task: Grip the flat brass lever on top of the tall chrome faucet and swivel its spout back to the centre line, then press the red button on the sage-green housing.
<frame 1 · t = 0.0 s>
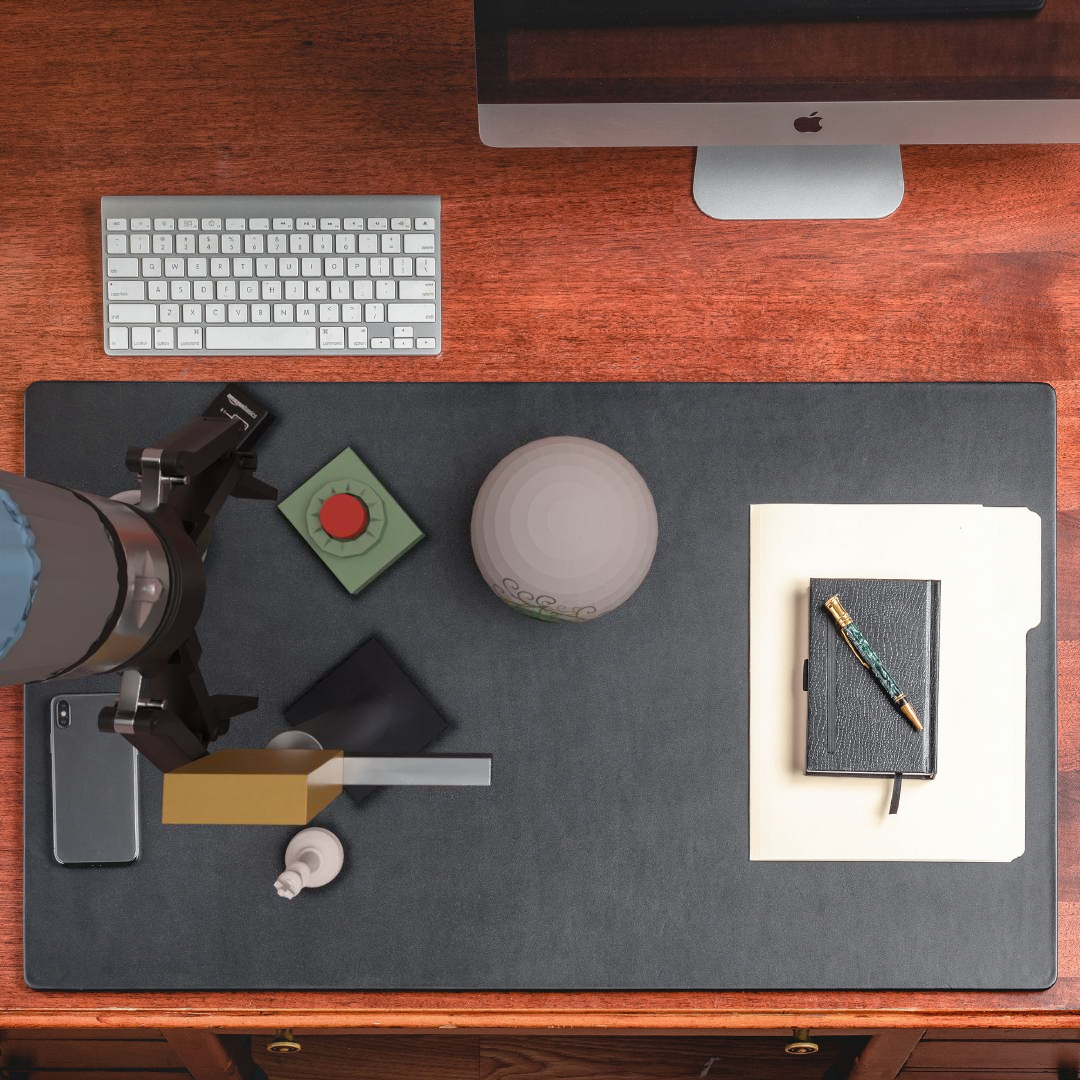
hand: (247, 596, 58), 20 cm above the table, tool pointing down, fingers open, 13 cm apart
cup: (161, 539, 78), on the table
multiport hub: (219, 449, 79), on the table
button: (343, 516, 74), point 4 cm above the table, slide at 0.1 cm
chess piece: (315, 855, 76), on the table
faucet body: (368, 718, 77), on the table
button box: (354, 522, 78), on the table
decorative object: (561, 538, 78), on the table
tap handle: (344, 780, 48), point 29 cm above the table, hinge at 48.9°, touching hand
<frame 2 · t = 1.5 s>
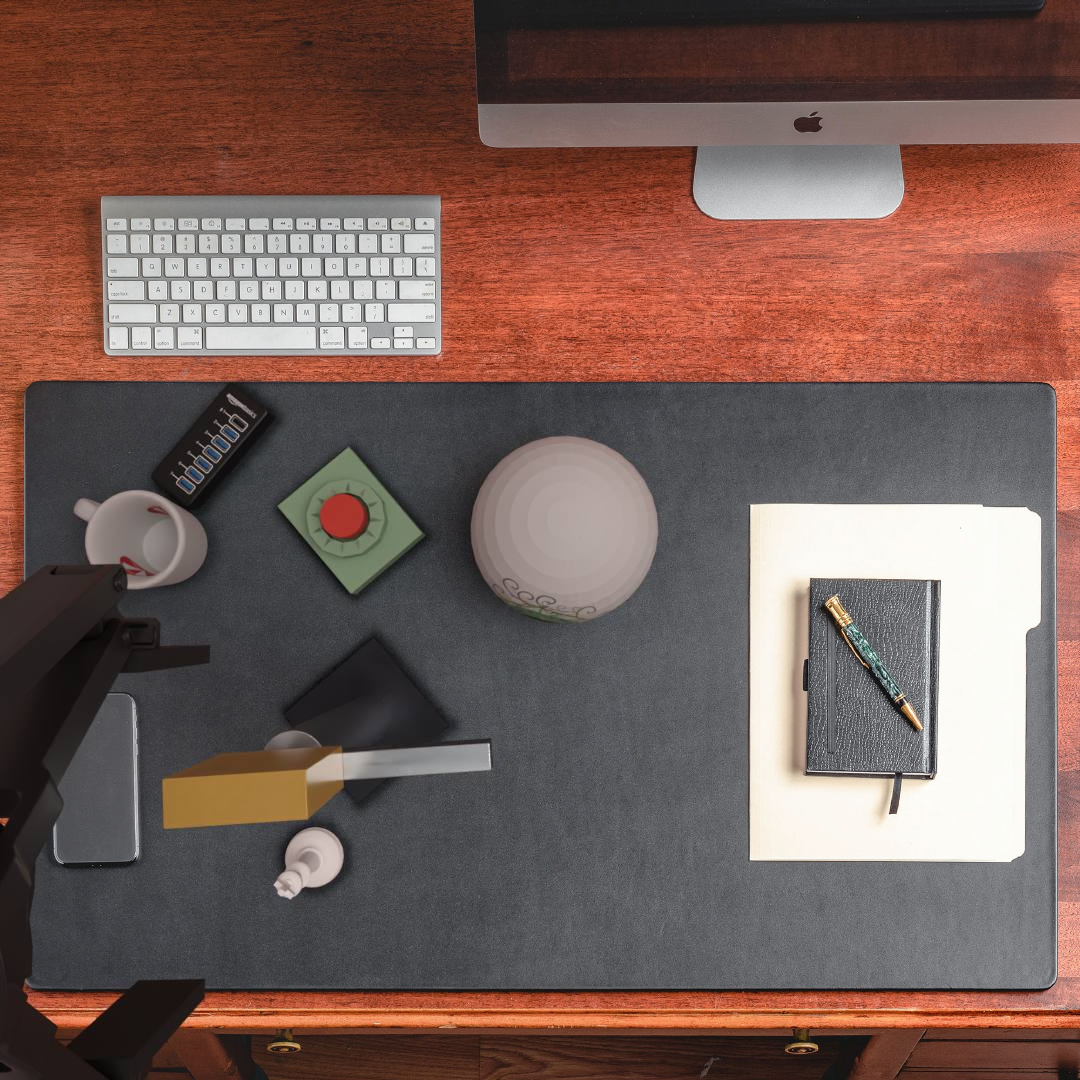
hand: (175, 818, 37), 41 cm above the table, tool pointing down, fingers open, 13 cm apart
tap handle: (344, 775, 48), point 29 cm above the table, hinge at 53.1°
everything else where it was.
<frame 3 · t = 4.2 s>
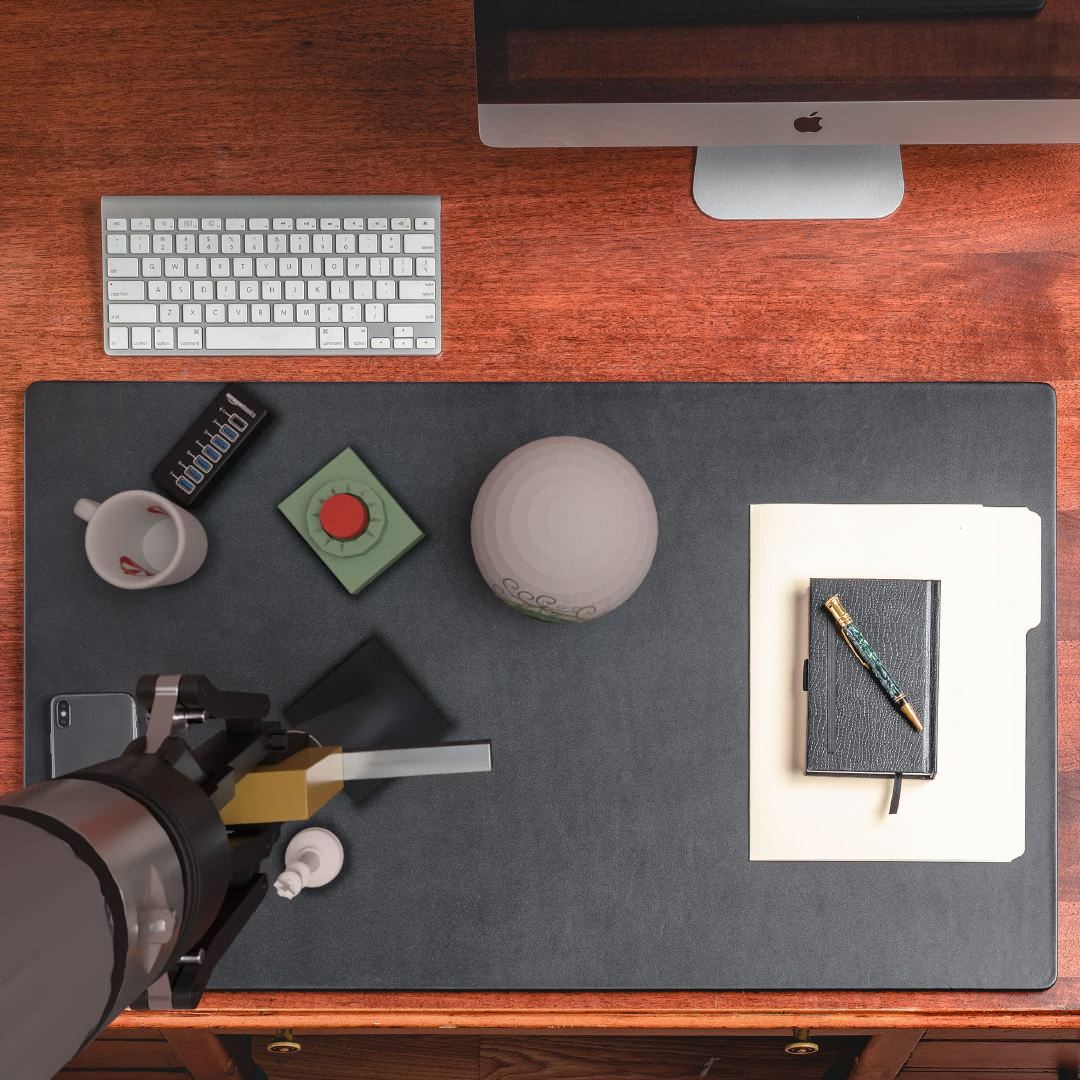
hand: (285, 768, 51), 26 cm above the table, tool pointing down, fingers closed on tap handle, 3 cm apart
tap handle: (344, 775, 48), point 29 cm above the table, hinge at 52.9°, touching gripper
everything else where it was.
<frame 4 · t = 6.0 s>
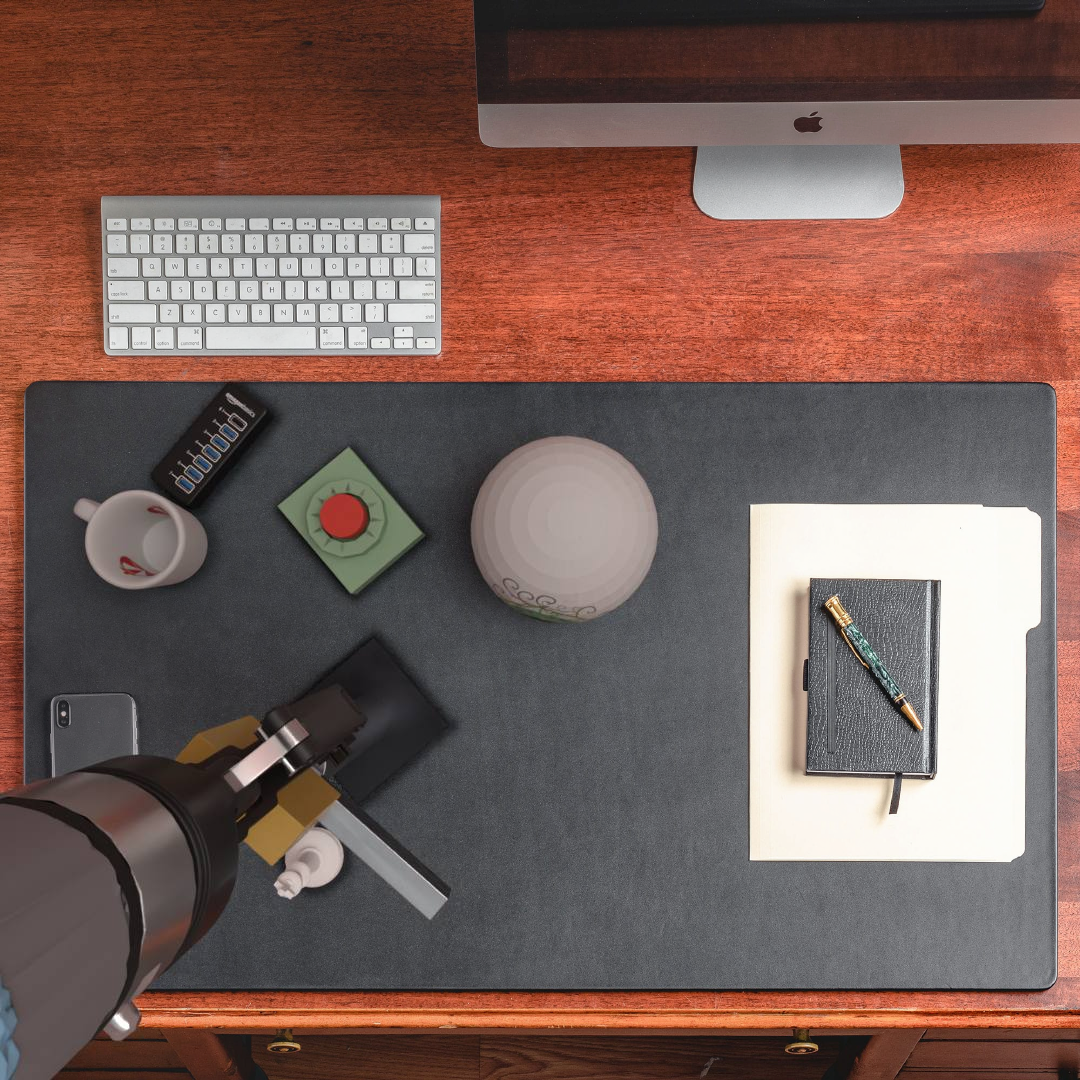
hand: (287, 767, 52), 25 cm above the table, tool pointing down, fingers open, 7 cm apart
tap handle: (324, 832, 48), point 29 cm above the table, hinge at 8.8°
everything else where it was.
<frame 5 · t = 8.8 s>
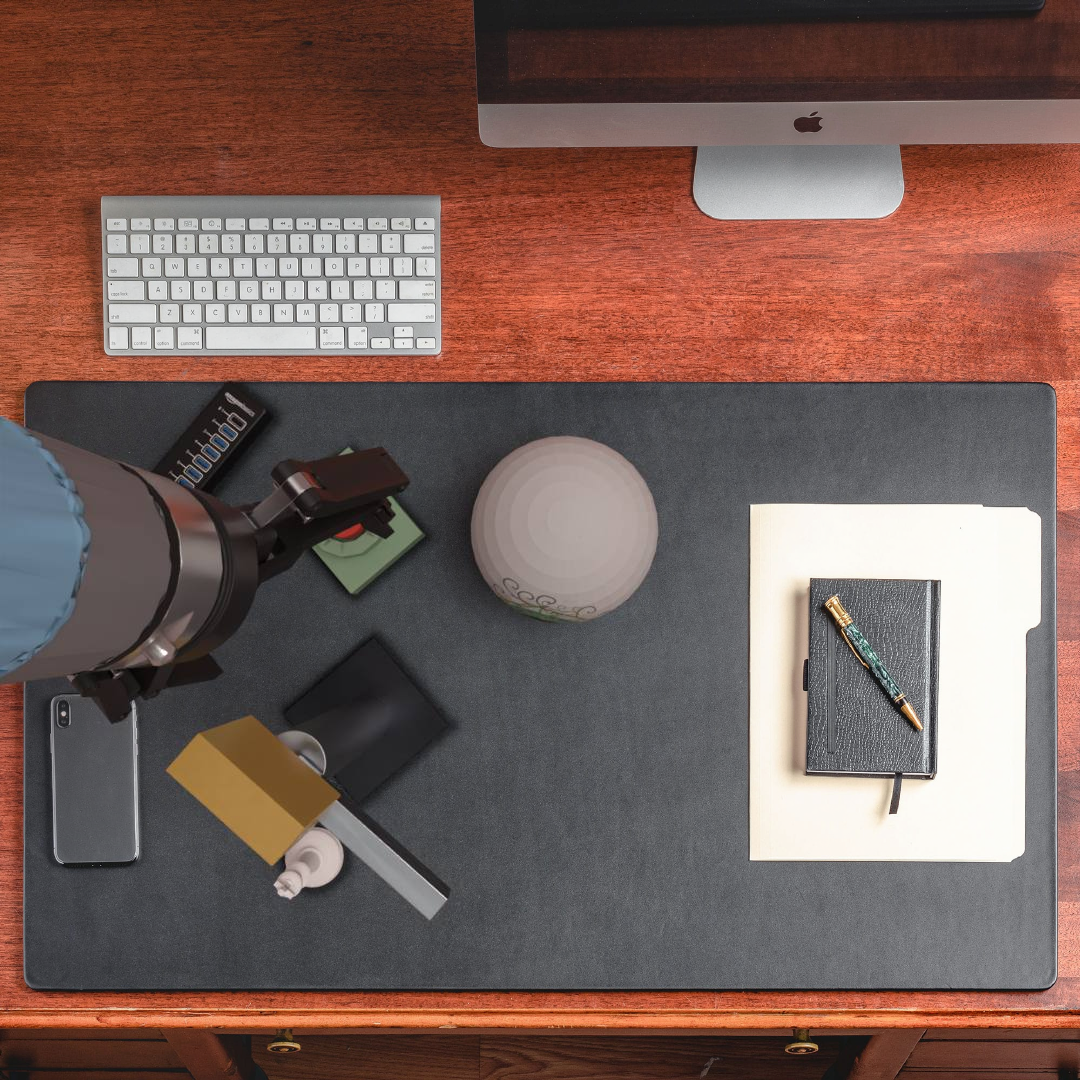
hand: (292, 588, 55), 23 cm above the table, tool pointing down, fingers open, 13 cm apart
nothing on the table moved.
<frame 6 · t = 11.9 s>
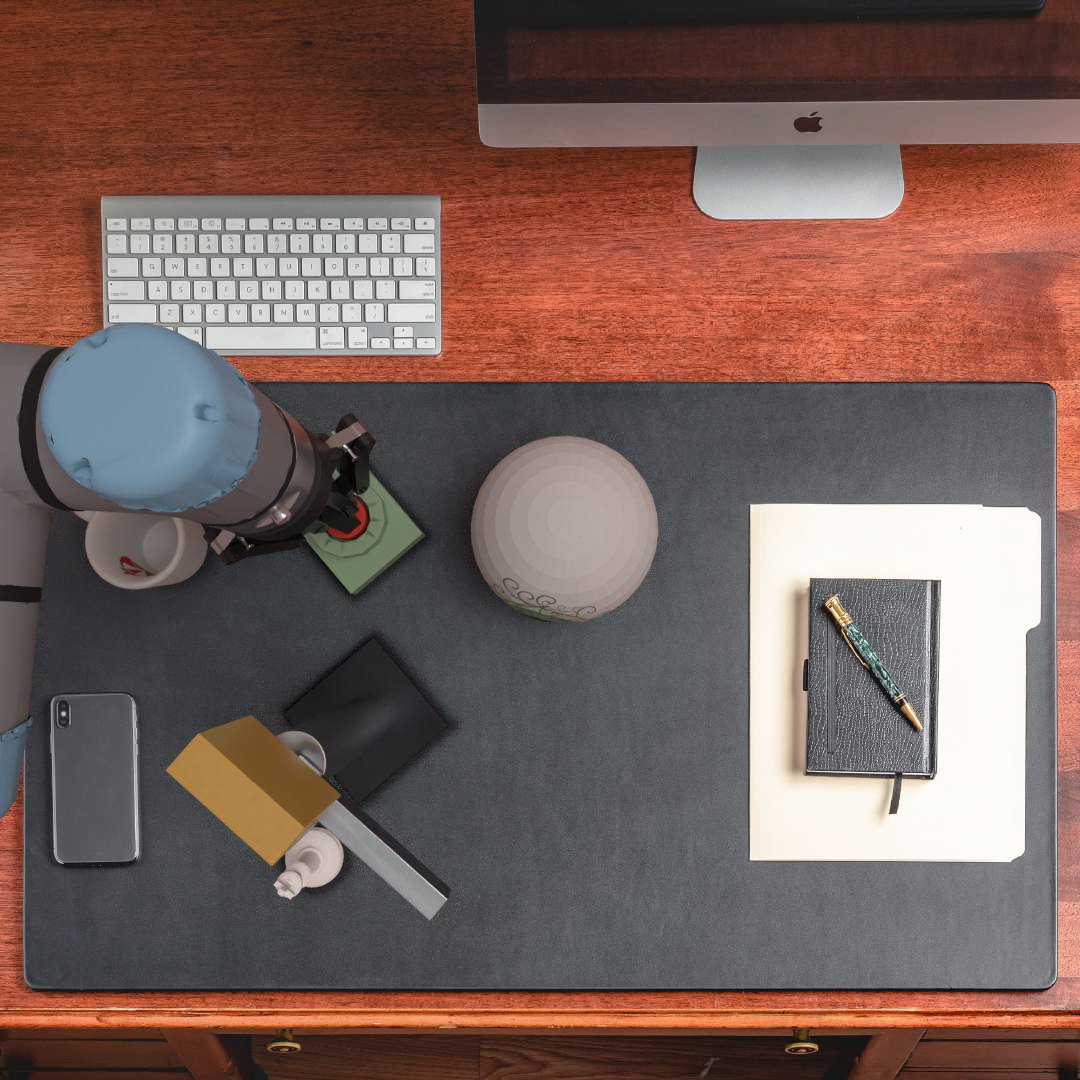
hand: (344, 516, 74), 5 cm above the table, tool pointing down, fingers closed
button: (346, 518, 75), point 4 cm above the table, slide at -0.8 cm, touching gripper
everything else where it was.
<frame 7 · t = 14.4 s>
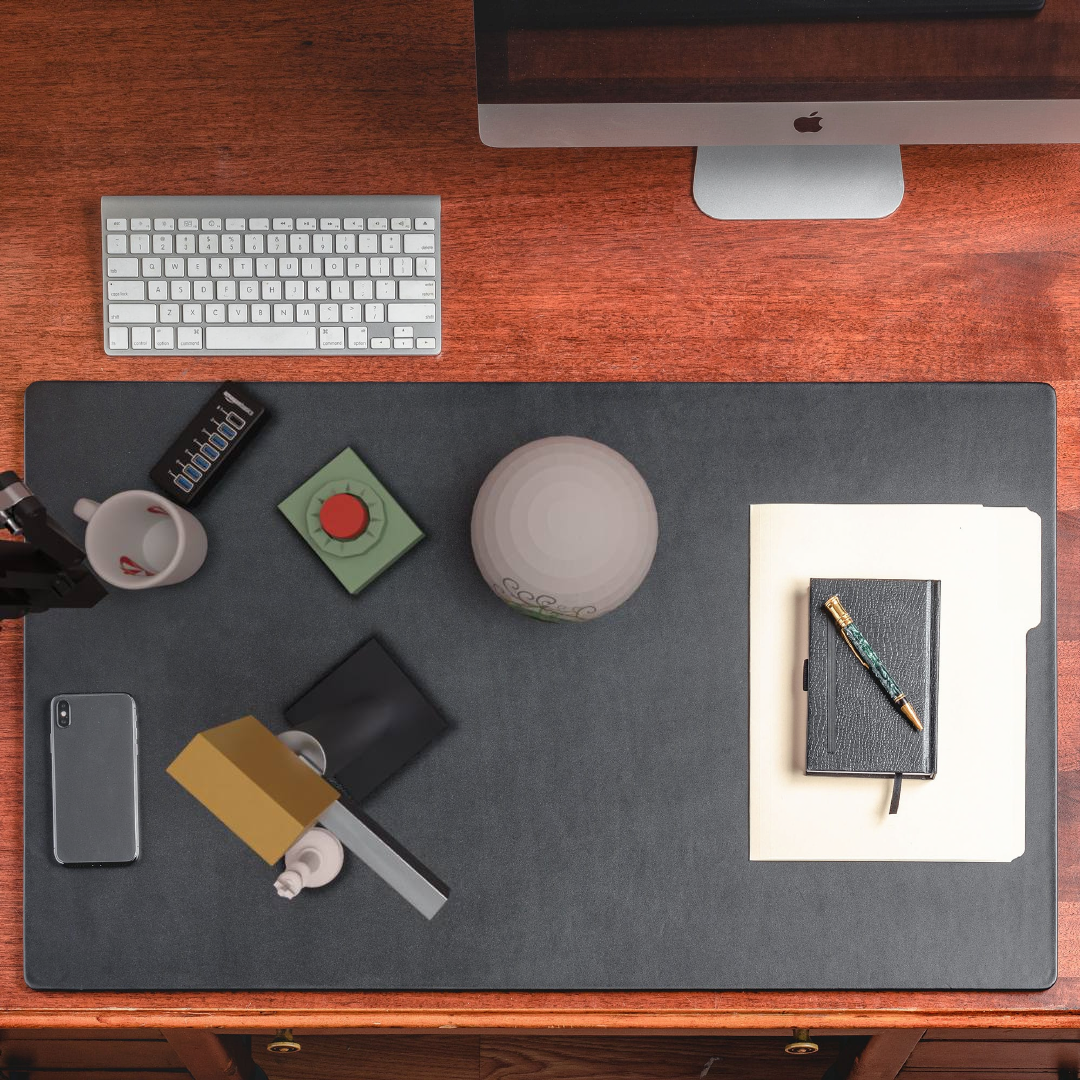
hand: (87, 585, 58), 20 cm above the table, tool pointing down, fingers closed
button: (343, 516, 74), point 4 cm above the table, slide at 0.1 cm
everything else where it was.
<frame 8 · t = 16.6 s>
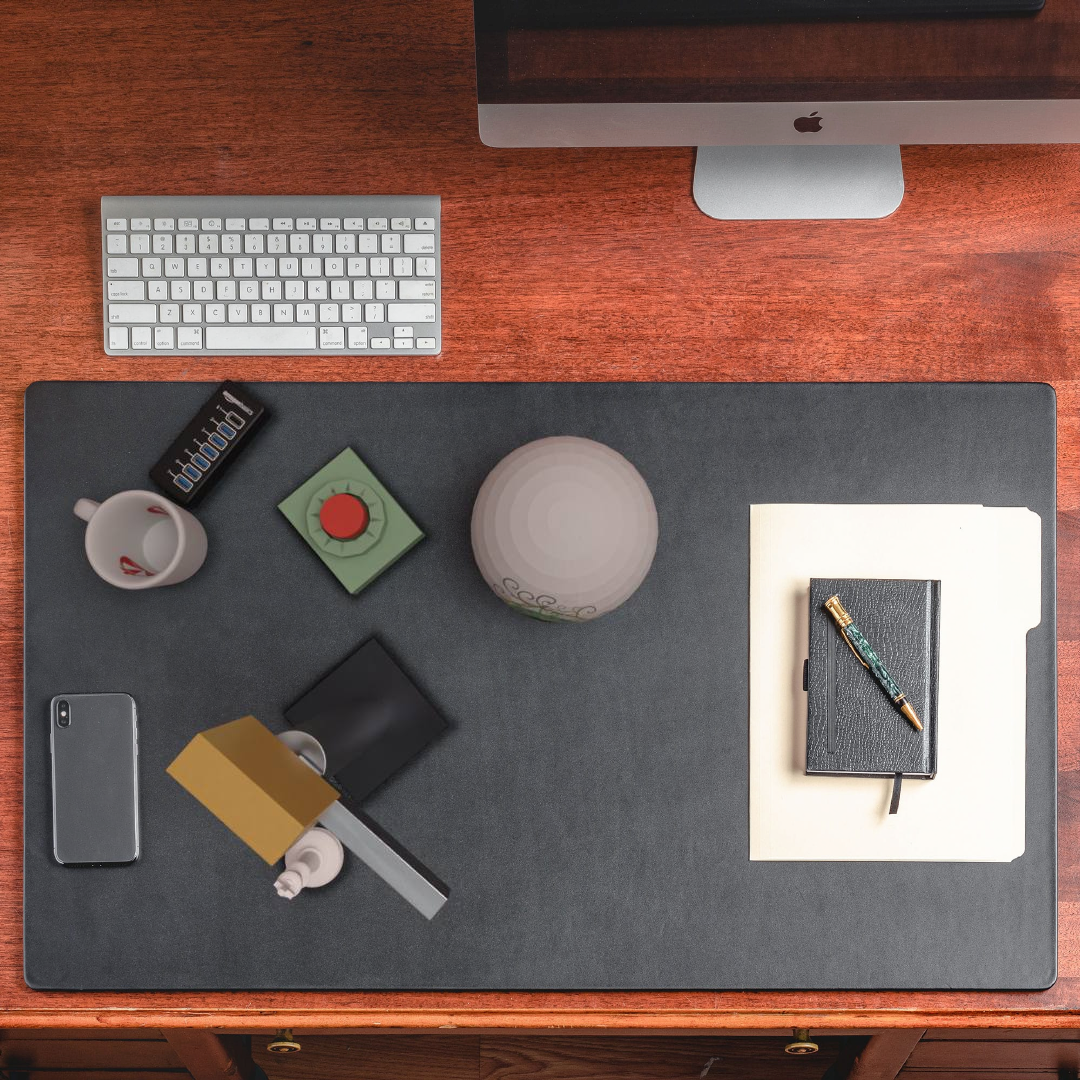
nothing on the table moved.
at the end: tap handle at +9° (first picture: +49°); button pushed in 1.0 cm at the most during the clip, back to where it started at the end; button slide at 0.1 cm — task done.
